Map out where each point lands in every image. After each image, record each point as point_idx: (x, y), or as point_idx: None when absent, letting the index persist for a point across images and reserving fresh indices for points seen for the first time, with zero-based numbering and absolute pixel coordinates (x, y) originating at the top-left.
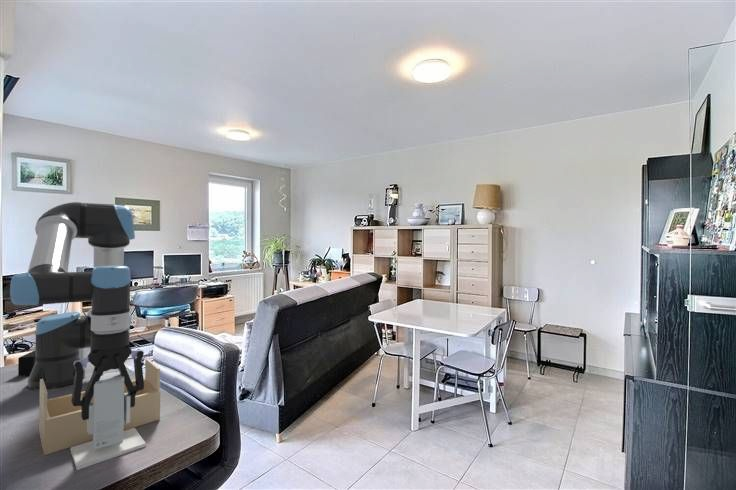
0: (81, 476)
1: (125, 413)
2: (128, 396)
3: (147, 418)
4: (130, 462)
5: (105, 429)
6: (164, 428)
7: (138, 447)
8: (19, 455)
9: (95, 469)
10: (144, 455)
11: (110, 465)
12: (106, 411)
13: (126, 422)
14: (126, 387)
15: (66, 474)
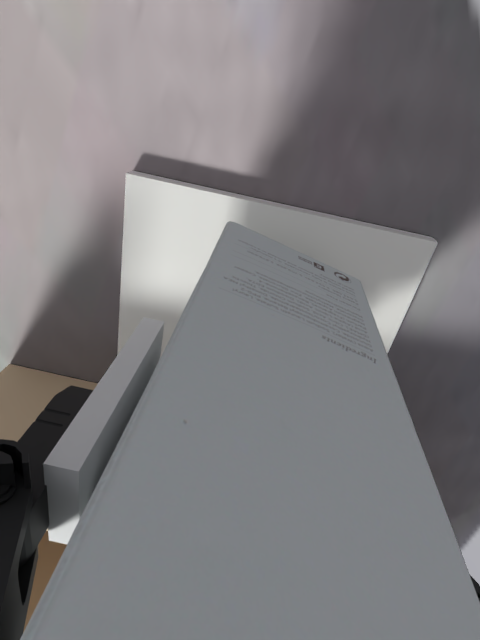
0: (456, 156)
1: (143, 380)
2: (61, 469)
3: (49, 390)
4: (251, 60)
5: (315, 299)
6: (10, 269)
7: (165, 178)
8: (455, 510)
9: (385, 164)
10: (170, 68)
11: (326, 134)
12: (319, 388)
13: (162, 324)
14: (23, 604)
15: (472, 241)
